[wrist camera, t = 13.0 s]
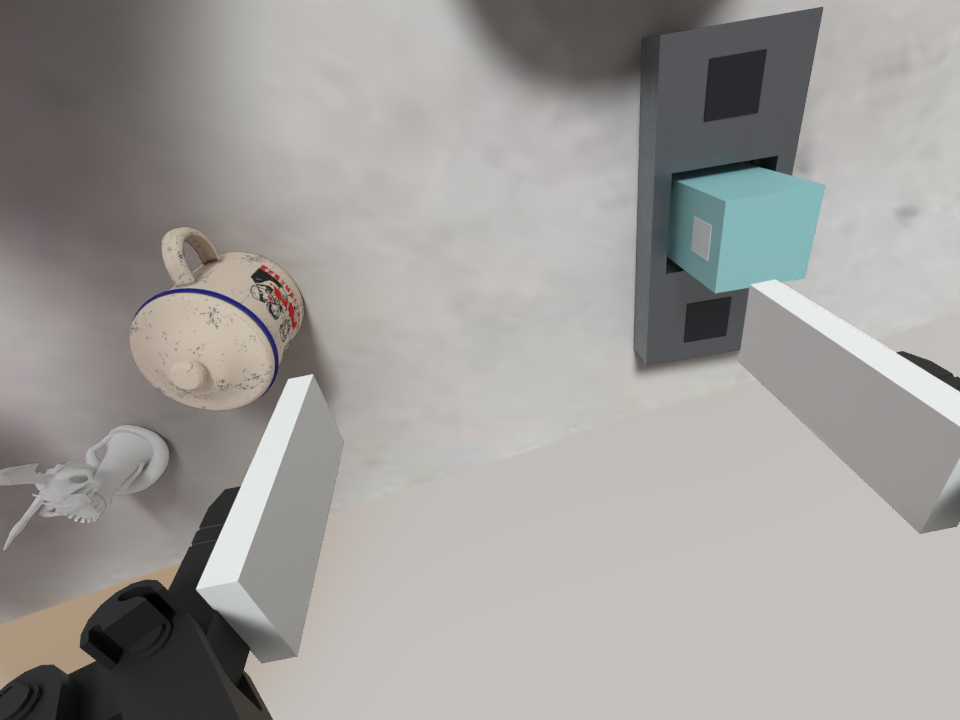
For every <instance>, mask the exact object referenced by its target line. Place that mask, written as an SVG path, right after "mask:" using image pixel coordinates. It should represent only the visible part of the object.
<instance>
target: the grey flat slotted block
mask: <svg viewBox="0 0 960 720" xmlns="http://www.w3.org/2000/svg"><path fill="white" fill-rule="evenodd" d="M822 12H823V7H819V8H813V9H808V10H802V11H796V12H790V13H784V14H779V15H773V16H767V17H761V18H755V19H750V20H744V21H738V22H732V23H726V24H721V25H715V26H709V27H703V28H697V29H692V30H686V31H680V32H674V33H668V34H663V35H657V36H653V37H648V38H643V39H642V63H641V100H640V137H639V174H638V211H637V248H636V285H635V322H634V349H635V351H636V352H637V354H638V355H639V356H640V358H641V359H642V360H643V362H644V363H645V364H646V365H650V364H656V363H663V362H669V361H675V360H681V359H687V358H693V357H699V356H705V355H711V354H717V353H723V352H729V351H735V350H740V349H741V342H742V335H743V328H744V321H745V315H746V308H747V301H748V294H749V288H744V289H738V290H732V291H726V292H720V293H714V292H712V291H711V290H710V289H709V288H707V287H706V286H705V285H703V284H702V283H701V282H699V281H698V280H697V279H696V278H694V277H693V276H692V275H690V274H689V273H688V272H686V271H685V270H684V269H683V268H681V267H680V266H679V265H677V264H676V263H675V262H673V261H672V260H671V259H667V245H668V229H669V213H670V197H671V181H672V173H677V172H683V171H689V170H695V169H701V168H707V167H713V166H719V165H725V164H731V163H737V162H742V161H748V160H752V165H753V166H757V167H761V168H764V169H768V170H772V171H776V172H780V173H783V174H787V175H791V176H792V172H793V167H794V161H795V156H796V150H797V145H798V140H799V134H800V129H801V124H802V118H803V113H804V108H805V102H806V97H807V92H808V86H809V81H810V76H811V70H812V65H813V60H814V54H815V49H816V44H817V38H818V33H819V28H820V22H821V17H822Z"/></svg>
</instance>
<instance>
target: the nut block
mask: <svg viewBox="0 0 960 720" xmlns="http://www.w3.org/2000/svg"><path fill="white" fill-rule="evenodd" d="M824 189H825V184H821V183H817V182H813V181H810V180H806V179H802V178H798V177H795V176H791V175H787V174H783V173H780V172H776V171H772V170H768V169H764V168H761V167H757V166H753V165H749V164H746V163H737V164H731V165H726V166H720V167H714V168H708V169H702V170H696V171H690V172H684V173H679V174H673V175H672V181H671V197H670V213H669V229H668V245H667V257H668V258H669V259H671V260H672V261H673V262H675V263H676V264H677V265H679V266H680V267H681V268H683V269H684V270H685V271H686V272H688V273H689V274H690V275H692V276H693V277H694V278H696V279H697V280H698V281H699V282H701V283H702V284H703V285H705V286H706V287H707V288H709V289H710V290H711V291H712V292H714V293H720V292H726V291H732V290H738V289H744V288H749V287H750V284H755V283H760V282H765V281H770V280H774V279H776V280H778V281H779V282H786V281H792V280H798V279H804V278H805V275H806V270H807V266H808V261H809V257H810V252H811V248H812V243H813V239H814V234H815V230H816V225H817V221H818V216H819V212H820V207H821V203H822V198H823V194H824Z"/></svg>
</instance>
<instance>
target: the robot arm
mask: <svg viewBox="0 0 960 720" xmlns="http://www.w3.org/2000/svg"><path fill="white" fill-rule="evenodd" d="M739 363H740V364H741V365H742V366H743V367H744V368H746V369H747V370H748V371H749V372H750V373H751V374H752V375H753V376H754V377H755V378H756V379H757V380H758V381H759V382H760V383H761V384H762V385H763V386H765V387H766V388H767V389H768V390H769V391H770V392H771V393H772V394H773V395H774V396H775V397H776V398H777V399H778V400H779V401H780V402H781V403H782V404H783V405H785V406H786V407H787V408H788V409H789V410H790V411H791V412H792V413H793V414H794V415H795V416H796V417H797V418H798V419H799V420H800V421H801V422H803V423H804V424H805V425H806V426H807V427H808V428H809V429H810V430H811V431H812V432H813V433H814V434H815V435H816V436H817V437H818V438H819V439H820V440H822V442H824V443H825V444H826V445H827V446H828V447H829V448H830V449H831V450H832V451H833V452H834V453H835V454H836V455H837V456H838V457H840V459H841V460H843V461H844V462H845V463H846V464H847V465H848V466H849V467H850V468H851V469H852V470H853V471H854V472H855V473H856V474H857V475H858V476H860V477H861V479H863V480H864V481H865V482H866V483H867V484H868V485H869V486H870V487H871V488H872V489H873V490H874V491H875V492H876V493H877V494H878V495H879V496H881V497H882V498H883V499H884V500H885V501H886V502H887V503H888V504H889V505H890V506H891V507H892V508H893V509H894V510H895V511H896V512H897V513H898V514H900V516H902V517H903V518H904V519H905V520H906V521H907V522H908V523H909V524H910V525H911V526H912V527H913V528H914V529H915V530H917V532H918V533H920V534H922V533H926V532H931V531H937V530H941V529H947V528H952V527H957V525H958V524H959V522H960V378H959V377H954V376H953V374H952V373H950V372H949V371H947V370H945V369H944V368H942V367H940V366H938V365H937V364H935V363H933V362H931V361H929V360H927V359H923V358H921V357H918V356H915V355H912V354H909V353H906V352H903V351H902V352H897V353H895V352H894V351H892V350H891V349H889V348H887V347H886V346H884V345H882V344H881V343H879V342H878V341H876V340H874V339H873V338H871V337H869V336H868V335H866V334H864V333H863V332H861V331H860V330H858V329H856V328H855V327H853V326H851V325H850V324H848V323H846V322H845V321H843V320H842V319H840V318H838V317H837V316H835V315H833V314H832V313H830V312H828V311H827V310H825V309H824V308H822V307H820V306H819V305H817V304H815V303H814V302H812V301H810V300H809V299H807V298H806V297H804V296H802V295H801V294H799V293H797V292H796V291H794V290H792V289H791V288H789V287H788V286H786V285H784V284H783V283H781V282H779V281H778V280H776V279H774V280H770V281H765V282H760V283H755V284H750V287H749V294H748V301H747V308H746V315H745V321H744V328H743V335H742V342H741V349H740V355H739ZM343 445H344V440H343V438H342V436H341V434H340V432H339V429H338V427H337V425H336V423H335V421H334V418H333V416H332V414H331V412H330V410H329V407H328V405H327V403H326V401H325V399H324V396H323V394H322V392H321V390H320V388H319V385H318V383H317V381H316V379H315V377H314V374H311V375H306V376H301V377H296V378H291V379H288V381H287V383H286V385H285V388H284V390H283V392H282V394H281V397H280V399H279V401H278V403H277V406H276V408H275V410H274V413H273V415H272V417H271V419H270V422H269V424H268V426H267V429H266V431H265V433H264V435H263V438H262V440H261V442H260V444H259V447H258V449H257V451H256V454H255V456H254V458H253V460H252V463H251V465H250V467H249V469H248V472H247V474H246V476H245V479H244V481H243V483H242V485H241V486H240V487H235V488H230V489H225V490H224V491H223V492H222V494H221V495H220V496H219V497H218V498H217V499H216V500H215V501H214V503H213V504H212V505H211V506H210V507H209V508H208V510H207V512H206V514H205V517H204V519H203V521H202V523H201V525H200V527H199V528H200V530H199V531H197V533H196V535H195V537H194V539H193V541H192V547H189V549H188V551H187V553H186V555H185V557H184V559H183V561H182V563H181V565H180V568H179V569H178V572H177V574H176V576H175V578H174V580H173V582H172V584H171V586H170V588H169V590H167V589H166V588H165V587H164V586H163V585H162V584H161V583H160V582H158V581H157V580H143V581H140V582H136V583H133V584H130V585H129V586H127V587H125V588H123V589H122V590H120V591H118V592H116V593H115V594H114V595H113V596H111V597H110V598H109V599H108V600H107V601H105V602H104V603H103V604H102V605H101V606H100V607H99V608H98V609H97V610H96V612H95V613H94V614H93V615H92V617H90V619H89V620H88V622H87V624H86V626H85V628H84V630H83V632H82V634H81V639H80V648H81V649H82V650H84V651H85V652H86V653H87V654H89V655H90V656H91V657H93V658H94V659H95V660H96V661H95V662H93V663H91V664H89V665H87V666H85V667H83V668H81V669H79V670H77V671H75V672H73V673H70V674H68V675H67V674H66V673H64V672H63V671H62V670H60V669H59V668H57V667H56V666H55V665H41V666H38V667H36V668H33V669H31V670H29V671H26V672H24V673H23V674H21V675H20V676H18V677H17V678H15V679H14V680H12V681H11V682H9V683H8V684H7V685H6V686H5V687H3V689H1V690H0V720H273V719H272V717H271V715H270V713H269V712H268V710H267V708H266V706H265V704H264V702H263V700H262V698H261V697H260V695H259V693H258V691H257V689H256V687H255V686H254V684H253V682H252V680H251V678H250V676H248V674H247V673H246V672H245V671H244V667H245V664H246V660H247V657H248V654H249V651H251V652H252V653H253V654H254V655H255V656H256V658H257V659H258V660H259V661H260V662H261V663H266V662H271V661H277V660H282V659H287V658H291V657H297V656H298V651H299V646H300V642H301V638H302V633H303V628H304V624H305V619H306V615H307V610H308V605H309V600H310V596H311V592H312V587H313V582H314V578H315V573H316V568H317V564H318V559H319V555H320V550H321V546H322V541H323V537H324V531H325V527H326V522H327V518H328V514H329V509H330V504H331V500H332V495H333V491H334V486H335V481H336V477H337V472H338V468H339V463H340V459H341V454H342V449H343Z"/></svg>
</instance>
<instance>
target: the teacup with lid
mask: <svg viewBox="0 0 960 720" xmlns="http://www.w3.org/2000/svg"><path fill="white" fill-rule="evenodd" d="M184 241H186V242H187V243H189V244H190V245H191V246H192V247H193V248H194V249H195V251H196V252H197V254H198V255H199V257H200V259H201V260H202V262H203V264H202V265H200V266H199V267H198V268H196V269H195V270H194V271H193V272H191V270H190V268H189V266H188V264H187V262H186V259H185V256H184V249H183V245H184ZM162 256H163V260H164V263H165V266H166V268H167V270H168V272H169V274H170V276H171V278H172V280H173V282H174V283H175V285H174V286H173V287H172V288H171V289H169V290H168V291H165V292H163V293H160V294H158V295H156V296H154V297H152V298H151V299H149V300H148V301H147V302H145V303H144V304H143V305H142V306H141V308H140V309H139V310H138V312H137V313H136V315H135V317H134V319H133V322H132V325H131V329H130V337H129V341H130V348H131V353H132V356H133V359H134V361H135V363H136V365H137V367H138V369H139V370H140V372H141V373H142V374H143V376H144V377H145V378H146V379H147V380H148V381H149V382H150V383H151V384H152V385H153V386H154V387H155V388H156V389H158V390H159V391H160V392H162V393H163V394H165V395H166V396H168V397H170V398H171V399H173V400H175V401H177V402H180V403H182V404H185V405H187V406H191V407H194V408H198V409H204V410H215V411H220V410H230V409H235V408H239V407H242V406H245V405H247V404H250V403H252V402H253V401H255V400H257V399H258V398H260V397H261V396H262V395H264V394H265V393H266V392H267V391H268V389H269V388H270V387H271V386H272V384H273V382H274V380H275V378H276V375H277V372H278V366H279V364H280V362H281V361H282V359H283V357H284V355H285V354H286V352H287V350H288V348H289V346H290V345H291V343H292V341H293V339H294V338H295V336H296V334H297V332H298V330H299V329H300V327H301V324H302V320H303V314H304V307H303V301H302V297H301V294H300V292H299V290H298V288H297V286H296V284H295V283H294V281H293V280H292V279H291V278H290V276H289V275H288V274H287V273H286V272H285V271H284V270H283V269H281V268H280V267H279V266H277V265H276V264H274V263H273V262H271V261H269V260H267V259H265V258H263V257H260V256H257V255H254V254H250V253H244V252H229V253H223V254H220V255H219V254H218V253H217V251H216V249H215V247H214V246H213V244H212V243H211V241H210V240H209V239H208V238H207V237H206V236H205V235H204V234H203V233H201V232H200V231H198V230H196V229H193V228H189V227H181V228H176V229H172V230H170V231H169V232H167V233H166V234H165V236H164V237H163V240H162Z"/></svg>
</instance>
